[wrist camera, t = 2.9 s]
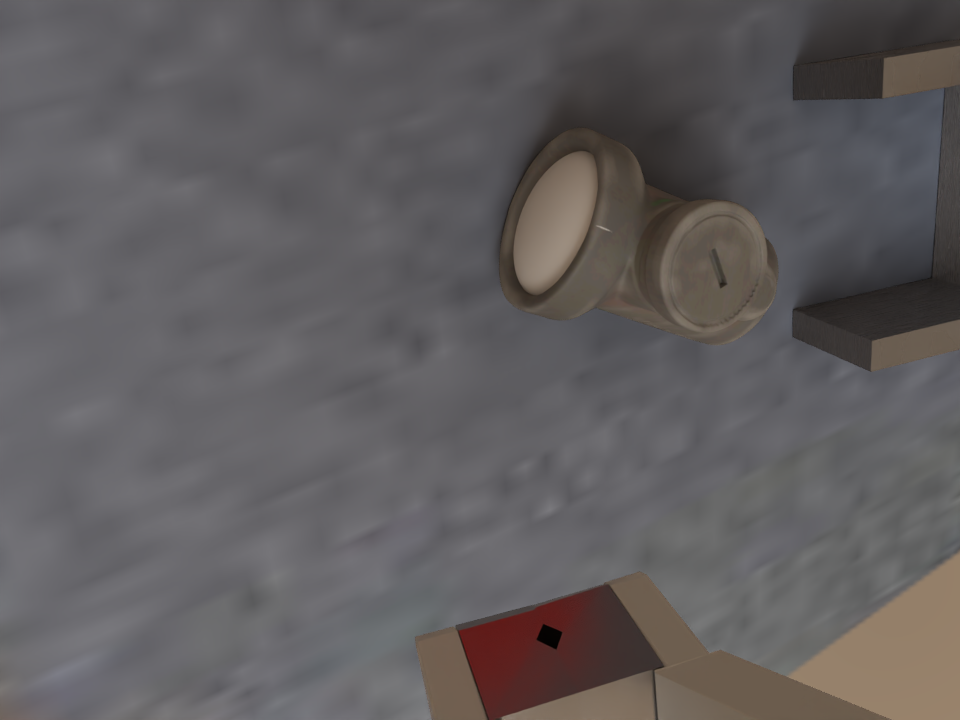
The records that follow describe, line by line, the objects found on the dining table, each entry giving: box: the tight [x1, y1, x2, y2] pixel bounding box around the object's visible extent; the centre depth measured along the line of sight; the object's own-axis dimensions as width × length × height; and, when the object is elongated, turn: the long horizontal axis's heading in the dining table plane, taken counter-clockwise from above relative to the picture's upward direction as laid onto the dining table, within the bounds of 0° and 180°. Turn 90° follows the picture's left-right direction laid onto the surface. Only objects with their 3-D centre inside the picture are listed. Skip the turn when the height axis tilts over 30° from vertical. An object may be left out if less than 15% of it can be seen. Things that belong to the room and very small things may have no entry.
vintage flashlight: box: [499, 127, 778, 345], centre depth 33 cm, size 12×8×10 cm
